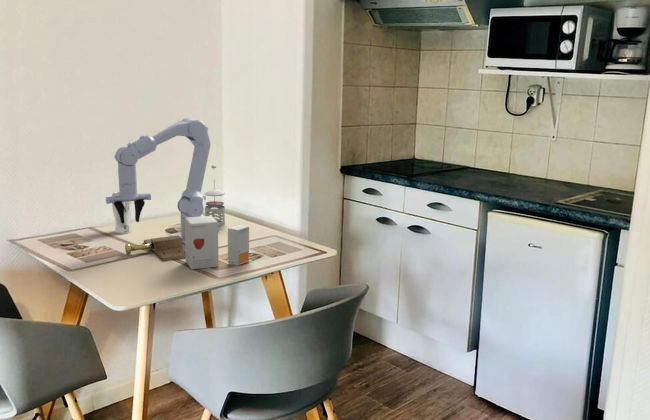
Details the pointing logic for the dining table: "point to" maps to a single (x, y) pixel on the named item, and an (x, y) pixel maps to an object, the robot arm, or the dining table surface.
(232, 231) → the skincare box
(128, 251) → the pin
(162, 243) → the hinge
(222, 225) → the french press
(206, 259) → the supplement box
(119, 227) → the beer glass
